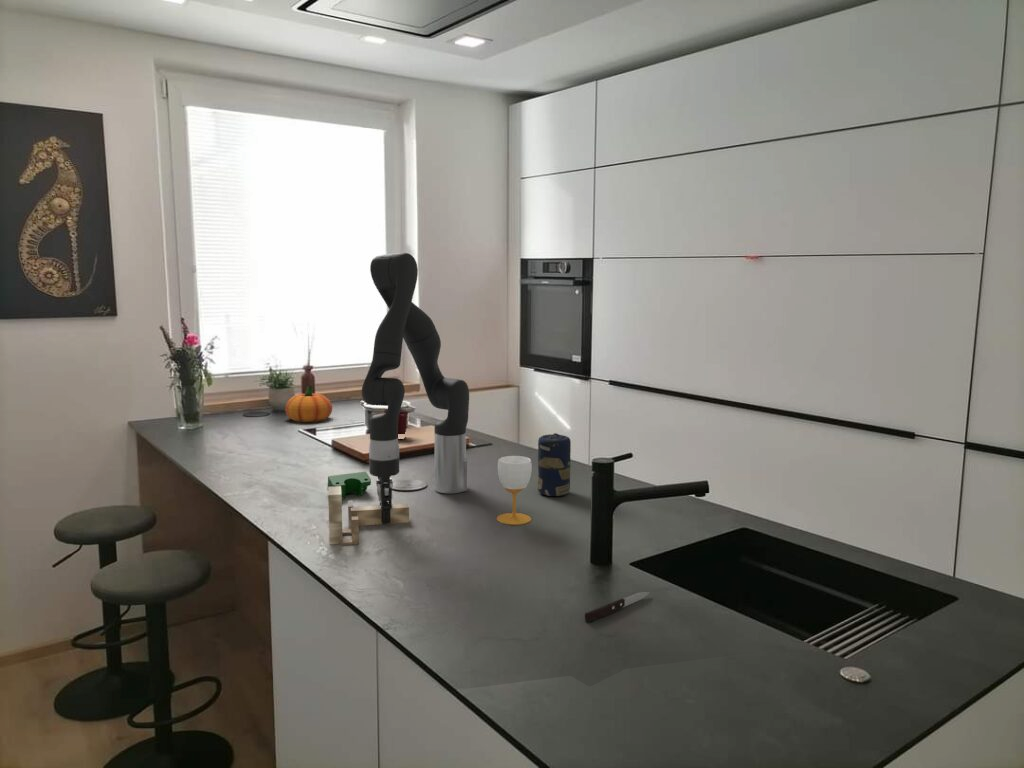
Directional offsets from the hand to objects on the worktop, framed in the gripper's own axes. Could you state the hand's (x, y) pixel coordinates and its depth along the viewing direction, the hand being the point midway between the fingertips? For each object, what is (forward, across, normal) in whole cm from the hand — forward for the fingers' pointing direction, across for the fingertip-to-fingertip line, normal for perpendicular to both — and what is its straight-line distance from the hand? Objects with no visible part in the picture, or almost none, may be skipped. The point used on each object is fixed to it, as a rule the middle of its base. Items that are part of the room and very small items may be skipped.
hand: (385, 519), depth 189 cm
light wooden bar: (+1, 0, +1) cm, 1 cm away
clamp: (+1, +25, +8) cm, 27 cm away
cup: (+1, -5, -33) cm, 33 cm away
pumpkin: (+1, +141, +22) cm, 143 cm away
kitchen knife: (+1, -60, -40) cm, 72 cm away
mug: (+1, +96, -12) cm, 97 cm away
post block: (+1, -10, +11) cm, 15 cm away
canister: (+1, +15, -50) cm, 52 cm away
